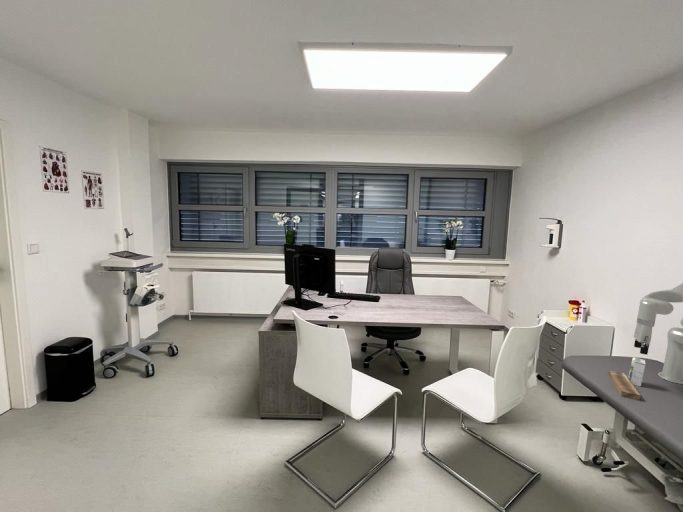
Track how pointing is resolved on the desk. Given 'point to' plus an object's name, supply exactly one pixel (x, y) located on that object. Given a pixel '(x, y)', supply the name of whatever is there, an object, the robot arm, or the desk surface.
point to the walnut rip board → (624, 385)
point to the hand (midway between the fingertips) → (640, 350)
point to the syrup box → (637, 371)
